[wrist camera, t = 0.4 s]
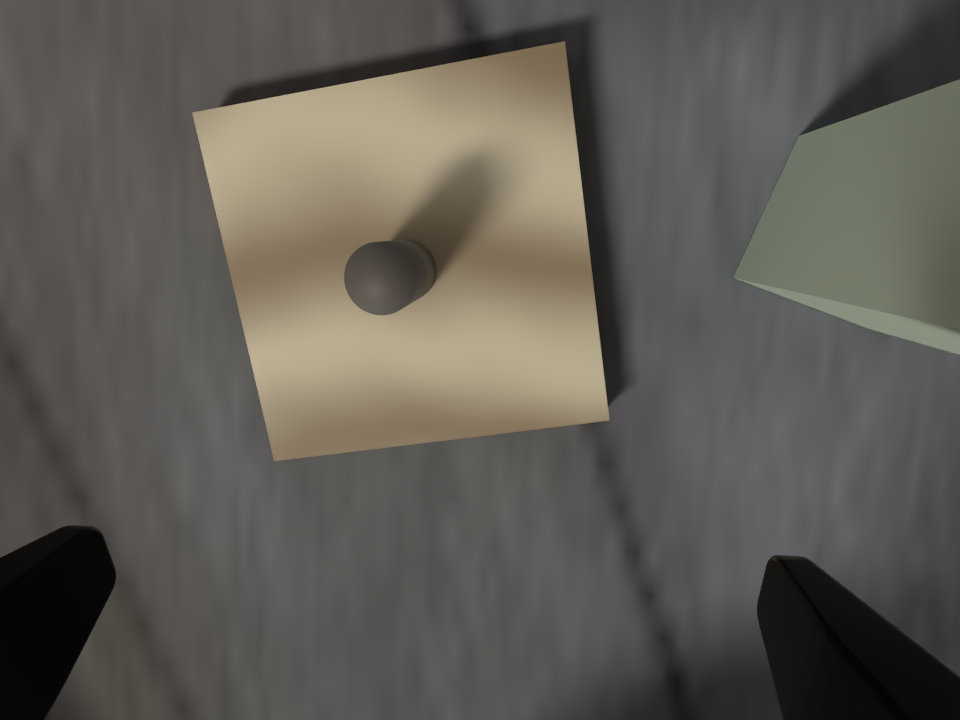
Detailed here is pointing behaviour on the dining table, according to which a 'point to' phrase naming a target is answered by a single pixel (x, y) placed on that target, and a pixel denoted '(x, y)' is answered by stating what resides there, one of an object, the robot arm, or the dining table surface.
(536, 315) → the base
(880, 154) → the block
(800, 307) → the dining table surface
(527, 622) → the dining table surface
